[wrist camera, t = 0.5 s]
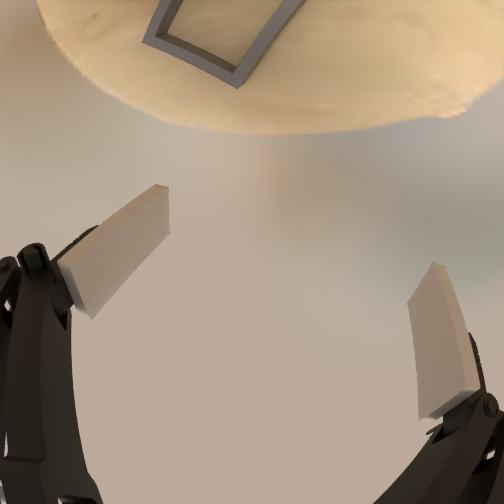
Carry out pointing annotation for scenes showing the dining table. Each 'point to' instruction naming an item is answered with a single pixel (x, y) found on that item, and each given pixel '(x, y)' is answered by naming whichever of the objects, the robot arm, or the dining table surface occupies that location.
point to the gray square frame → (206, 60)
